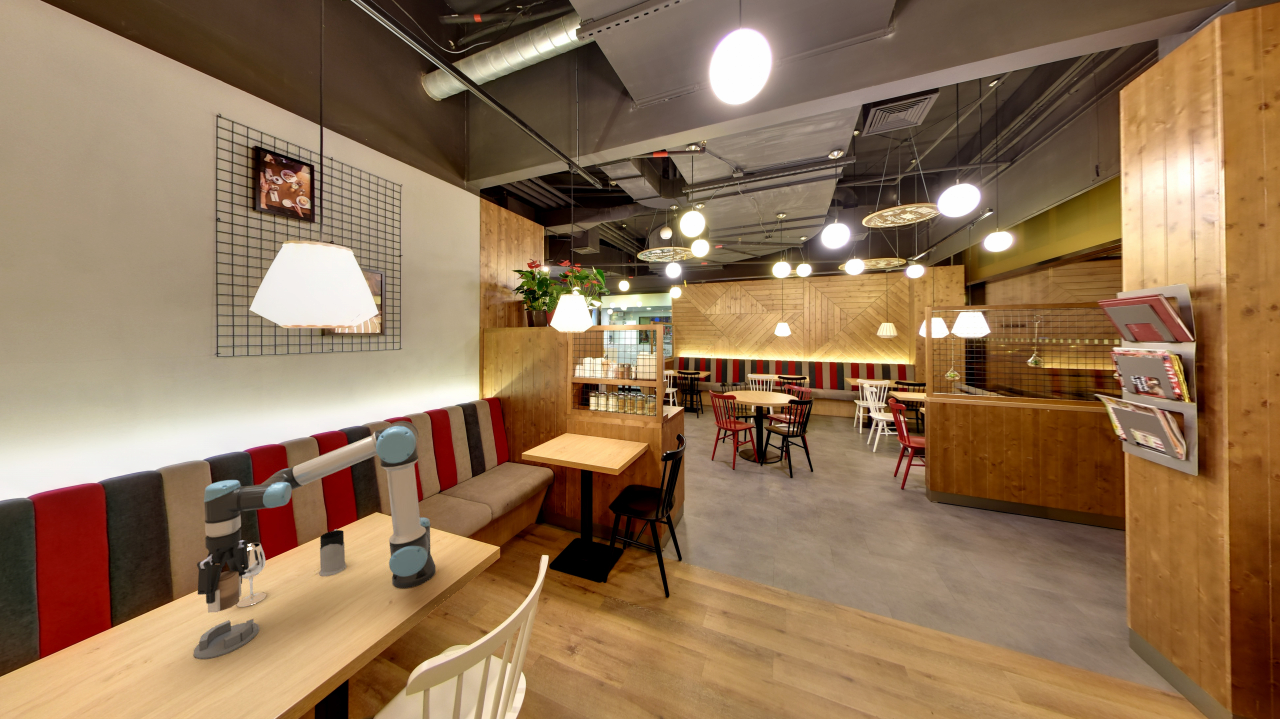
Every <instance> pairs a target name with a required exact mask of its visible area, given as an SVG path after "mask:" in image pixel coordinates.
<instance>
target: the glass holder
mask: <svg viewBox="0 0 1280 719" xmlns="http://www.w3.org/2000/svg"><path fill="white" fill-rule="evenodd" d="M344 536H345V535H344V531H343V530H342V529H337V528H336V529H334V530H330V531H328V532H325V533H323V534H322V535H320V541H319V542H320V546H319V552H320V553H319V556H320V557H319V558H320V571H319V576H321V577H330V575H331V576H335V575H337V574H339V573H341V572H343V571H345V569H346V568H347V564H346V563H345V562H346V559H345V558H346V557H345V556H346V555H345V553H346V551H345V539H344Z"/></svg>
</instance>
